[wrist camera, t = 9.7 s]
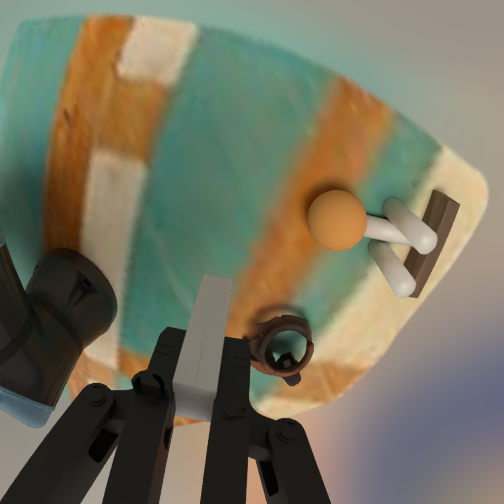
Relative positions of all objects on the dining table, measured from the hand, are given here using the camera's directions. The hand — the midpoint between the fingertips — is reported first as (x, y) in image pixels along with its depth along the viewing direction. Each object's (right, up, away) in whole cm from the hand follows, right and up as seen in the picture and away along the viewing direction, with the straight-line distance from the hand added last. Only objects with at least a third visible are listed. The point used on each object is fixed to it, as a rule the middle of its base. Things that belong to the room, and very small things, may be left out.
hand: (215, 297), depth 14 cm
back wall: (+23, +4, +16) cm, 28 cm away
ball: (+10, +5, +12) cm, 17 cm away
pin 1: (+18, +7, +14) cm, 24 cm away
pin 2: (+17, +3, +17) cm, 24 cm away
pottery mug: (+6, -10, +24) cm, 27 cm away
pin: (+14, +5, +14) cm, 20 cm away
